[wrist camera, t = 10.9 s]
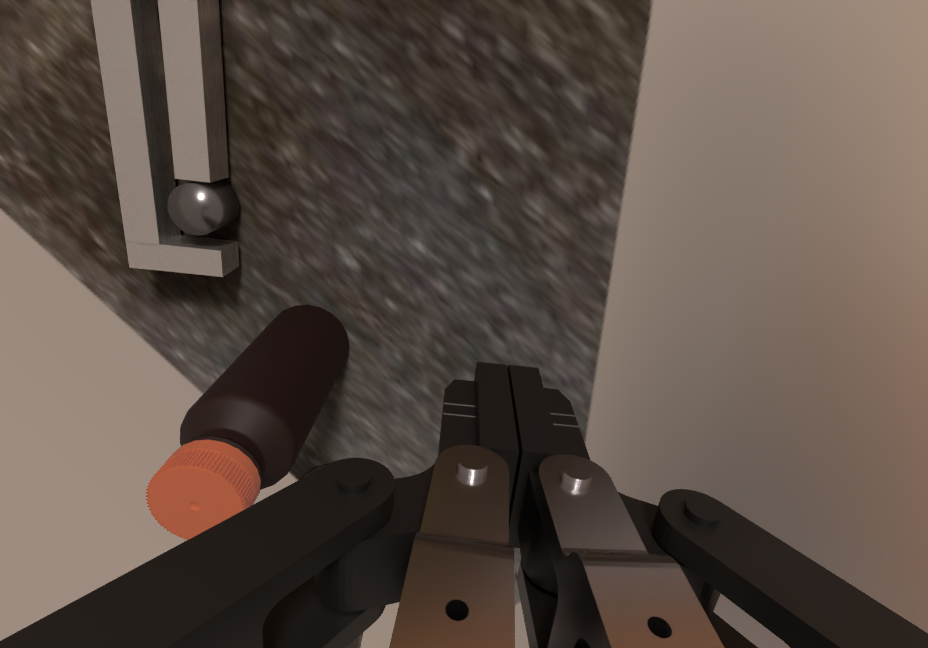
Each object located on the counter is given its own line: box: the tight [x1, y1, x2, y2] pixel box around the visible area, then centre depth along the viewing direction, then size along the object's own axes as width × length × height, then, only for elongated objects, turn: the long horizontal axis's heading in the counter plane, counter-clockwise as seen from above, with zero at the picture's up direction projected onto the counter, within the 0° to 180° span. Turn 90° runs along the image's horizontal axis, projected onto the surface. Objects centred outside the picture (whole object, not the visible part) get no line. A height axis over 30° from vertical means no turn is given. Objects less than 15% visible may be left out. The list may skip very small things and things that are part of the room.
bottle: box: [146, 305, 349, 540], centre depth 35 cm, size 7×7×20 cm
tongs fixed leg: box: [91, 0, 239, 277], centre depth 35 cm, size 24×7×3 cm, turn 174°
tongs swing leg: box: [158, 0, 239, 236], centre depth 35 cm, size 21×4×3 cm, turn 174°
